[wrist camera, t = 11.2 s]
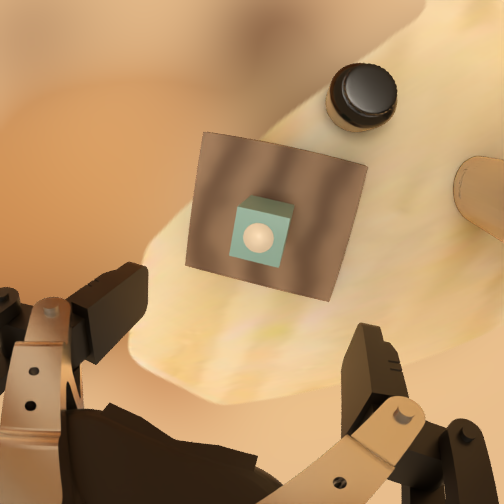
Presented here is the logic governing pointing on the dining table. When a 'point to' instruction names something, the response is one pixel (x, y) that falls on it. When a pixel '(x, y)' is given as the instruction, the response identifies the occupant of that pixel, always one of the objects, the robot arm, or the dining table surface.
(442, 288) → the dining table surface
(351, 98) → the supplement bottle
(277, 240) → the green cube with circle
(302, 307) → the dining table surface
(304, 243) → the brown wooden board
